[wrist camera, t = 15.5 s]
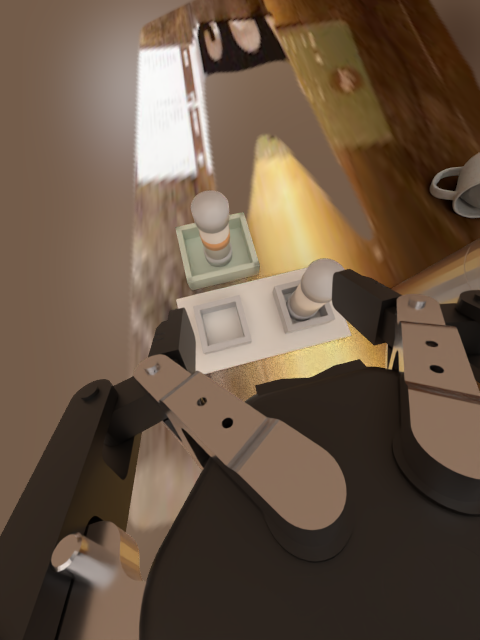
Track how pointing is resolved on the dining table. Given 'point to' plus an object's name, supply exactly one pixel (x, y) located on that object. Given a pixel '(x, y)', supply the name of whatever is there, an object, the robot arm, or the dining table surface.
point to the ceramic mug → (462, 188)
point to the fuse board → (255, 322)
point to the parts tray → (208, 275)
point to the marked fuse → (213, 226)
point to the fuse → (313, 289)
